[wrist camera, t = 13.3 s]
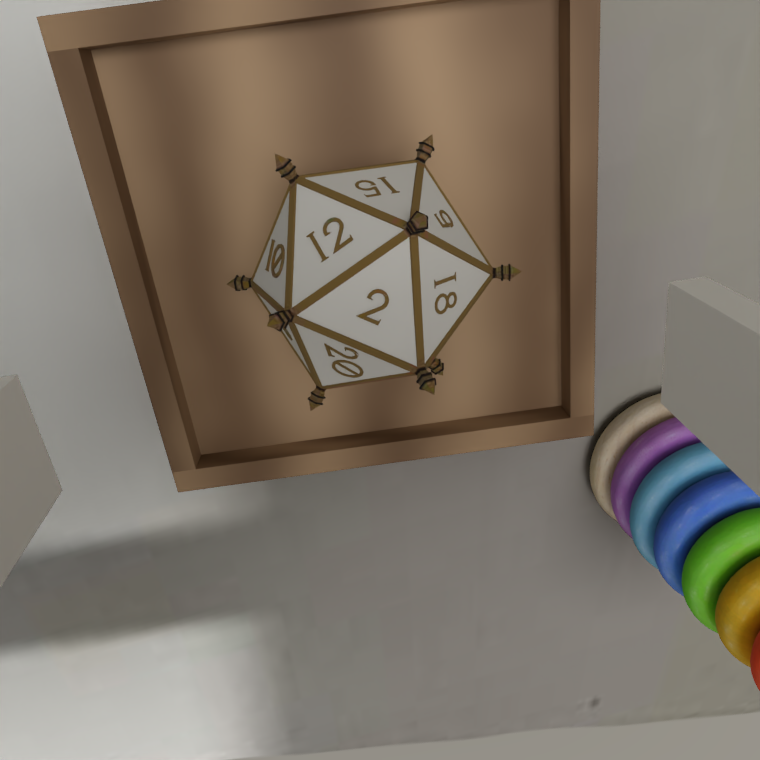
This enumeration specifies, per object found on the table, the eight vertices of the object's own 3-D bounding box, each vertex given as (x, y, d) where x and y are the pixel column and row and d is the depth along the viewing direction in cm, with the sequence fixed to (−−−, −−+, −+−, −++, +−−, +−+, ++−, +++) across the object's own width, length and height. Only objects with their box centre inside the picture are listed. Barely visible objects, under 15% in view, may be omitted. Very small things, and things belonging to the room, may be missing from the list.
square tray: (197, 443, 32) (178, 492, 28) (83, 27, 24) (36, 16, 21) (562, 393, 32) (593, 435, 28) (560, -36, 25) (601, -58, 21)
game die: (399, 254, 29) (509, 436, 24) (210, 290, 26) (290, 505, 21) (444, 59, 22) (612, 258, 17) (193, 78, 19) (306, 325, 14)
